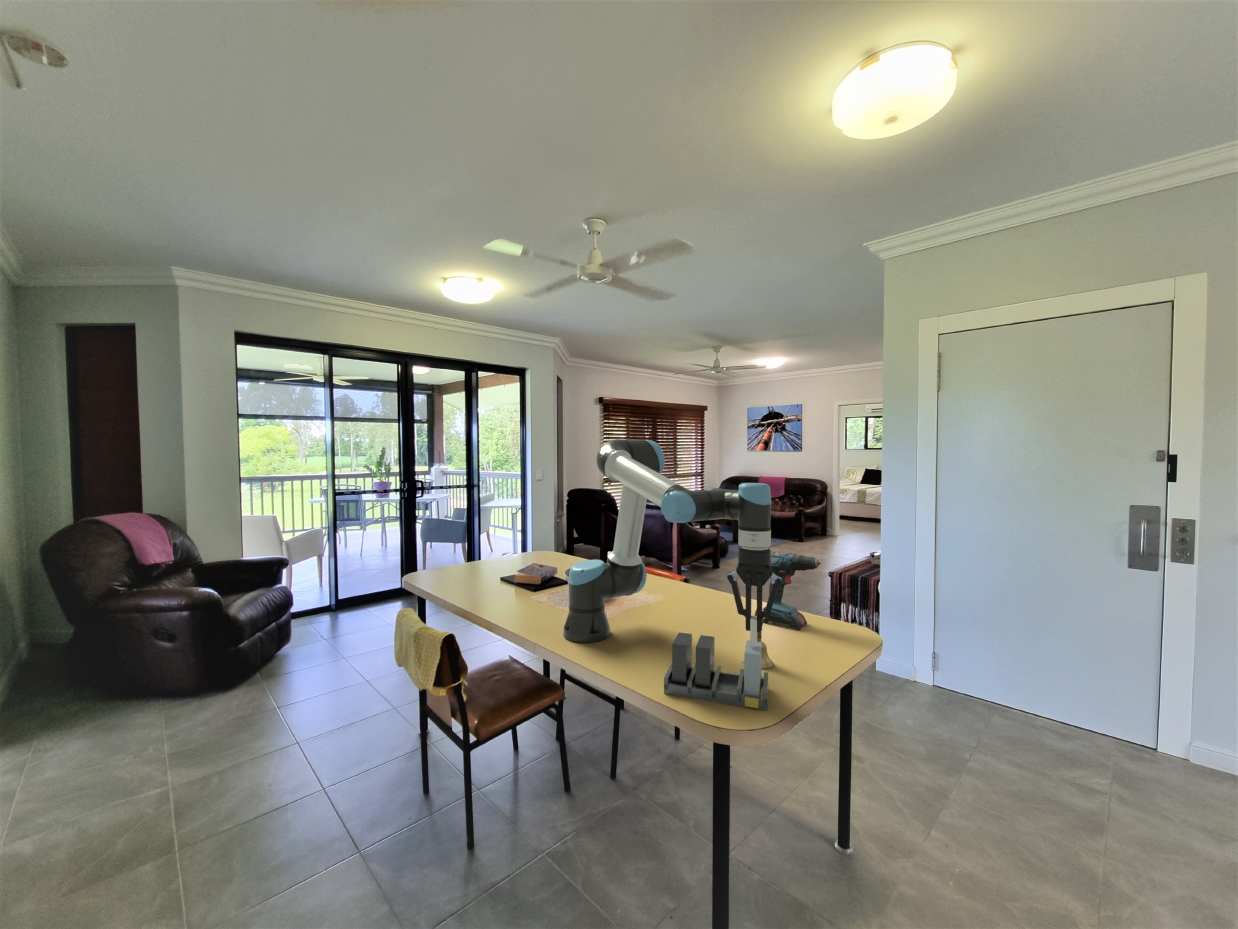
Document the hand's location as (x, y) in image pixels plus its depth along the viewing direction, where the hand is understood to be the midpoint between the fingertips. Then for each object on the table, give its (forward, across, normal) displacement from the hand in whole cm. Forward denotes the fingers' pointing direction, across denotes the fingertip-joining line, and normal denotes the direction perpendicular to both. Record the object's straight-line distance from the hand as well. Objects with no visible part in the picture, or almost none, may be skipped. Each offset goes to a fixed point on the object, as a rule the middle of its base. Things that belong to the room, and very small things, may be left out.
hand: (753, 644), depth 116 cm
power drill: (+13, +8, +57) cm, 59 cm away
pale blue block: (+12, 0, 0) cm, 12 cm away
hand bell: (+13, 0, +21) cm, 24 cm away
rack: (+13, -9, 0) cm, 16 cm away
